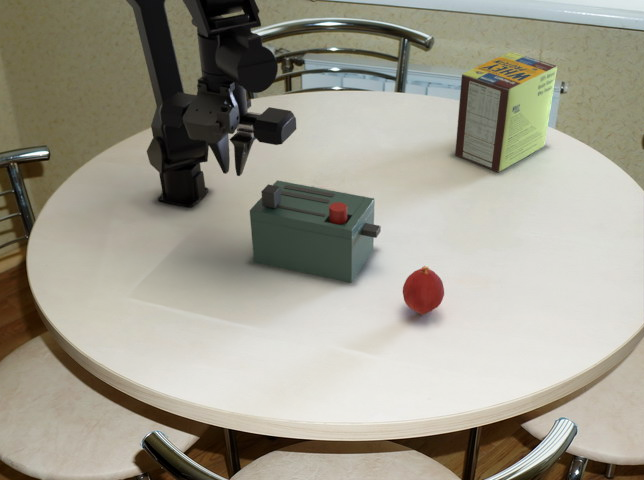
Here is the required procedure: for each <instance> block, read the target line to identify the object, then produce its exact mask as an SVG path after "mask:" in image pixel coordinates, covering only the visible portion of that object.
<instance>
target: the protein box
mask: <svg viewBox="0 0 644 480" xmlns="http://www.w3.org/2000/svg"><path fill="white" fill-rule="evenodd" d="M557 71H558V66H557V65H556V64H552V63H549V62H545V61H542V60H539V59H535V58H532V57H529V56H526V55H523V54H519V53H517V52H514V51H508V52H506V53H505V54H502V55H500V56H498V57H496V58H494V59H491V60H489V61H486V62H484V63H481V64H480V65H478V66H476V67H473V68H471V69H469V70H466V71H465V72H463V73H462V74H461V79H460V80H461V81H460V92H459V94H460V95H459V104H458V116H457V128H456V139H455V152H454V156H456V157H459V158H461V159H464V160H467V161H468V162H469V161H470V162H472V163H475V164H477V165H480V166H482V167H485V168H486V169H490V170H491V171H495V172H497V173H500V172H502V171H503V170H505V169H507V168H509V167H511V166H512V165H514V164H516V163H518V162H519V161H522V160H523V159H524V158H526V157H528V156H530V155H531V154H533V153H534V152H536V151H539V150H540V149H542V148H543V147H545V145H546V140H547V139H546V138H547V132H548V125H549V119H550V114H551V107H552V101H553V95H554V88H555V82H556V75H557Z"/></svg>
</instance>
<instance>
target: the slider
mask: <svg viewBox="0 0 644 480" xmlns="http://www.w3.org/2000/svg"><path fill="white" fill-rule="evenodd" d="M260 194H261V197H262V206H264V207H270V208H276V206H277V205H278V204H279V203H280V202H281V189H280V186H274V185H273V184H269V183H267V185H266V186H265V187H264V188H263V189H262V190H261V193H260Z"/></svg>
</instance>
